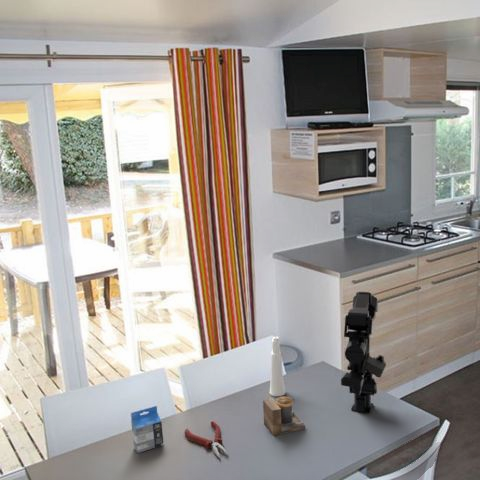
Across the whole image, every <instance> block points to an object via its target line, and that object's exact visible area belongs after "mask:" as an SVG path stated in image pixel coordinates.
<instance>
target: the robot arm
mask: <svg viewBox="0 0 480 480" xmlns="http://www.w3.org/2000/svg"><path fill="white" fill-rule="evenodd" d="M378 308H379V300H378V297H376V296H373V294H372V292H369V291H357V292H356V293H355V295H354V296H353V297H352V308H351V309H348V312H347V314H346V315H345V319H344V329H343V330H344V333H343V337H344V338H348V342H347V345H346V347H345V351H344V356H345V359H346V360H347V361H348V365H347V370H348V371H350V372H345V373H344V374H343V375H342V377H341V378H340V385H341V386H343V387H348V388H349V394H353V400H354V401H353V404H352V406H351V411H354V412H360V413H364V414H370V413H371V411H372V409H373V407H374V406H375V405H374V403H372V396H375V394H377V393H378V386H377V382H376V380H375V378H374V376H375V377H376V378H381V377H382V375H383V374H384V371H385V369H386V366H387V363H386V362H385V356H384V355H380V354H379V355H377V356H376V357H375V356H374V357H372V356H371V355H370V352H371V351H370V350H371V349H370V348H371V335H372V332H373V322H374V320H375V319H376V316H377V314H376V313H378V312H379V311H378V310H379V309H378Z"/></svg>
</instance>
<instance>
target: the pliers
mask: <svg viewBox="0 0 480 480" xmlns="http://www.w3.org/2000/svg"><path fill="white" fill-rule="evenodd" d="M210 426H211V427H212V428H213V430H215V434H214V441H213V440H211V439H208V438H204V437H202V436H198V435H196V434H193V433H192V432H191V431H190V430H189V428H186V429H184V433H183V434H184V435H185V437H186V438H187V440H188V441H189V442H192V443H195V444H198V445H200V446H203V447H204V448H205V450H206V451H209V449H212V451H213V453H214V454H215V456H217V457H218V458H219V460H221V456H220V453H221V454H223V455H225V456H227V457H230V455H229V453H228V452H227V450H226V449H225V447H223V439H222V438H221V427H220V426H219V424H218V423H216V422H215V421H214V420H213V421H210Z"/></svg>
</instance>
